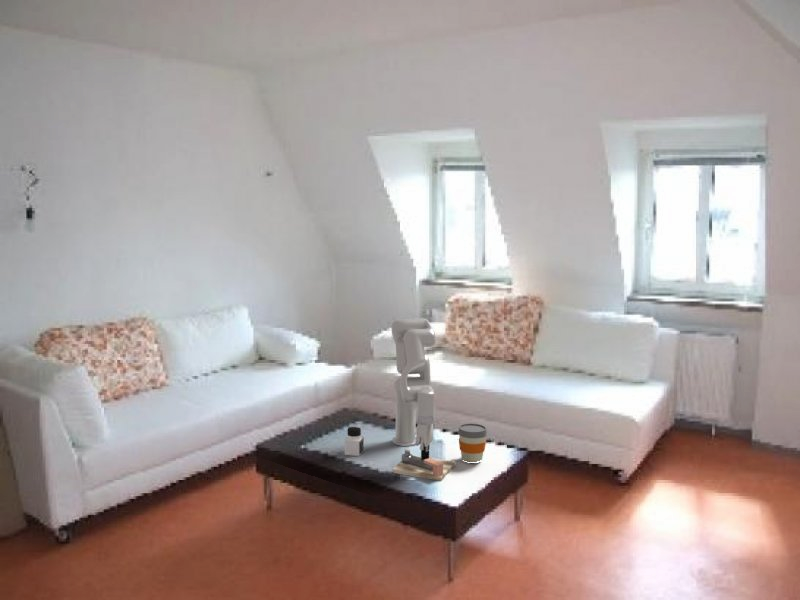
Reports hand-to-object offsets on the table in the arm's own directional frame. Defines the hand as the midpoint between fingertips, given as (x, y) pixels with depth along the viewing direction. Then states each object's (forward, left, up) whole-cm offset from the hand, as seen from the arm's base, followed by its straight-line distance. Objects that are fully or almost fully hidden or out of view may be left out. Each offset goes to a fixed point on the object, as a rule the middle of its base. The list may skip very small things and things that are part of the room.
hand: (425, 459), depth 283 cm
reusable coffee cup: (-16, +16, -4) cm, 23 cm away
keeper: (+8, +7, -2) cm, 11 cm away
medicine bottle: (-3, -36, -4) cm, 36 cm away
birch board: (+2, 0, -3) cm, 4 cm away
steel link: (+3, -2, -1) cm, 4 cm away
